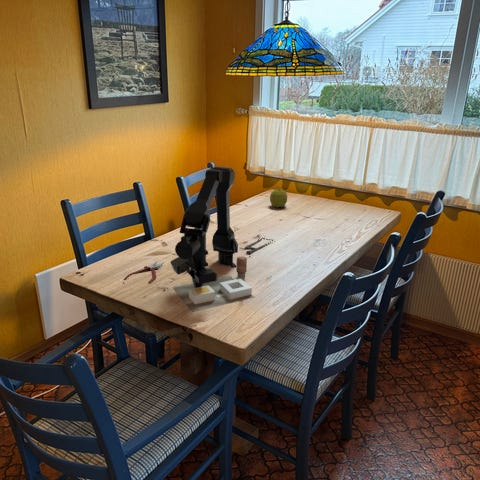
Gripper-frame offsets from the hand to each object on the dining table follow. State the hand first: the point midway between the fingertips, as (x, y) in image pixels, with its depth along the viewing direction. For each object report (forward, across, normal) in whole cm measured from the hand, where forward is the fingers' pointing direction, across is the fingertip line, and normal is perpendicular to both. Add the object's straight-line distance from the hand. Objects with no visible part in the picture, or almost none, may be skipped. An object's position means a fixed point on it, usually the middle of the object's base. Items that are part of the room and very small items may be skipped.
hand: (197, 290), depth 147 cm
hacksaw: (+3, -35, +42) cm, 54 cm away
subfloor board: (+3, +1, +5) cm, 6 cm away
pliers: (+4, -23, -9) cm, 25 cm away
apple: (+3, -79, +82) cm, 114 cm away
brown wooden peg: (+3, -5, +19) cm, 20 cm away
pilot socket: (+1, +4, +12) cm, 13 cm away
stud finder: (+1, +4, 0) cm, 4 cm away
